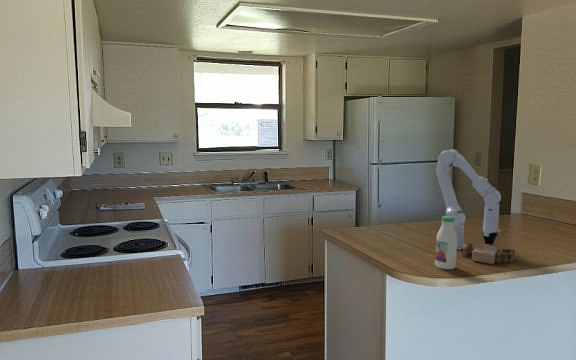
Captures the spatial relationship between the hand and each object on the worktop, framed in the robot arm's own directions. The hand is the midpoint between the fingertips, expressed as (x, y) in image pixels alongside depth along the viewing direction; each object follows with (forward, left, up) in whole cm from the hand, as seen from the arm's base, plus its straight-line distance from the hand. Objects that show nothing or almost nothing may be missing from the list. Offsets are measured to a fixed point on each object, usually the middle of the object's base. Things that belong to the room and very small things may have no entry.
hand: (488, 249), depth 194 cm
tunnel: (+2, -8, -1) cm, 8 cm away
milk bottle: (-9, -31, -2) cm, 33 cm away
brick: (+1, -9, -2) cm, 10 cm away
